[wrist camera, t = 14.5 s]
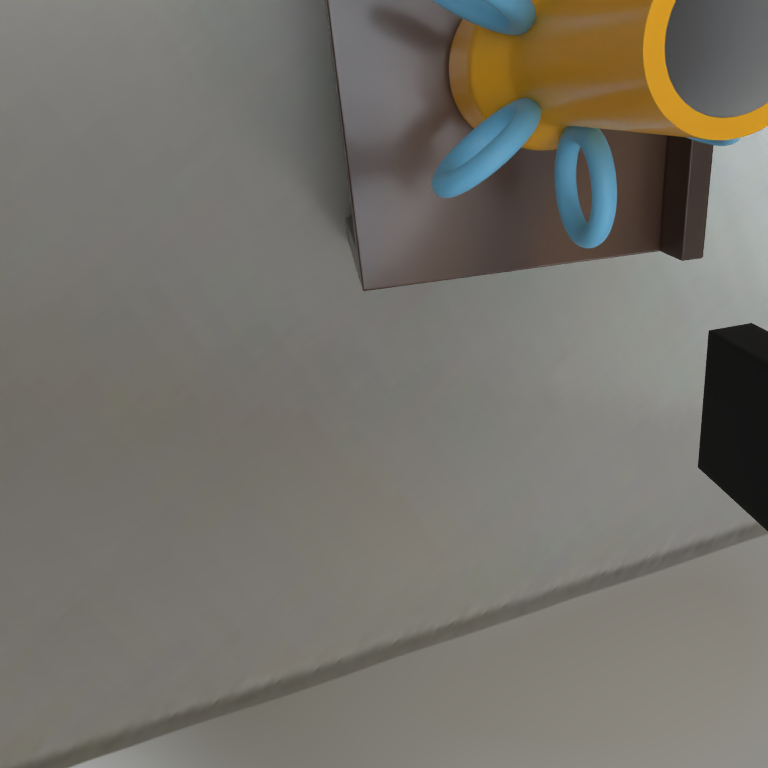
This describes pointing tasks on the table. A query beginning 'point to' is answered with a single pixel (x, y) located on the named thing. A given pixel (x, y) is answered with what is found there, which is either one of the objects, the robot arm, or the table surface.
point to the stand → (497, 192)
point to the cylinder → (599, 86)
